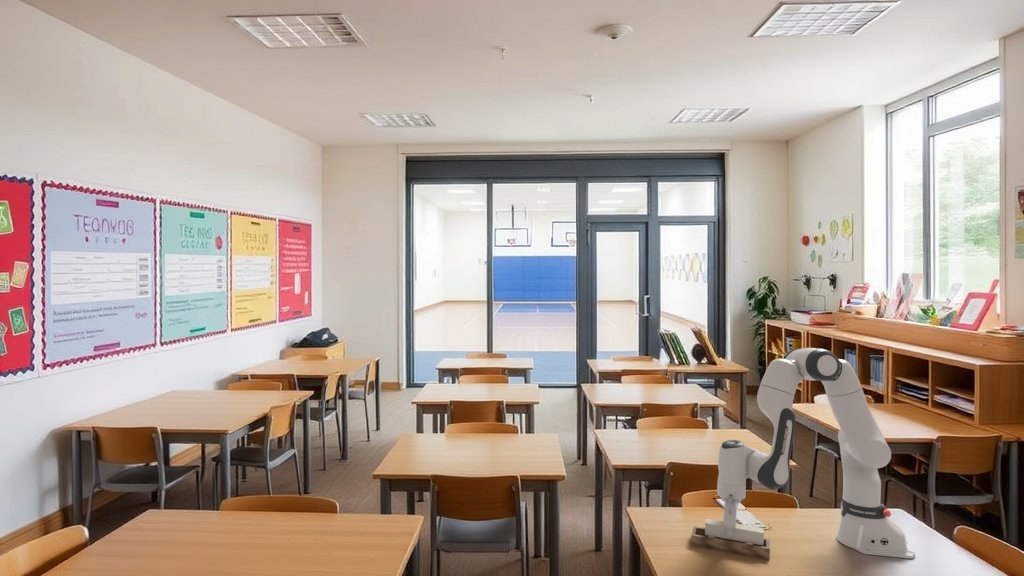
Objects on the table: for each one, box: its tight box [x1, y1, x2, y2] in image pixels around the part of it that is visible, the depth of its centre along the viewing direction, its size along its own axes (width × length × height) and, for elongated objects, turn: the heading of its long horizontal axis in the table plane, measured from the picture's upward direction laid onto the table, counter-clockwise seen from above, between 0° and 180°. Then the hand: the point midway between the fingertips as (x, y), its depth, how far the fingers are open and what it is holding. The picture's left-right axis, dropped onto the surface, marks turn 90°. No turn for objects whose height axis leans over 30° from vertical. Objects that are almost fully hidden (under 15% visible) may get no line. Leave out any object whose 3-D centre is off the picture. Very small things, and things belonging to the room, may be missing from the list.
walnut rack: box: [690, 525, 771, 561], centre depth 196 cm, size 24×8×4 cm, turn 68°
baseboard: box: [715, 499, 773, 529], centre depth 226 cm, size 30×3×10 cm
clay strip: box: [704, 518, 765, 545], centre depth 196 cm, size 18×4×4 cm, turn 68°
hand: (730, 531), depth 196 cm, fingers closed on clay strip, 4 cm apart
